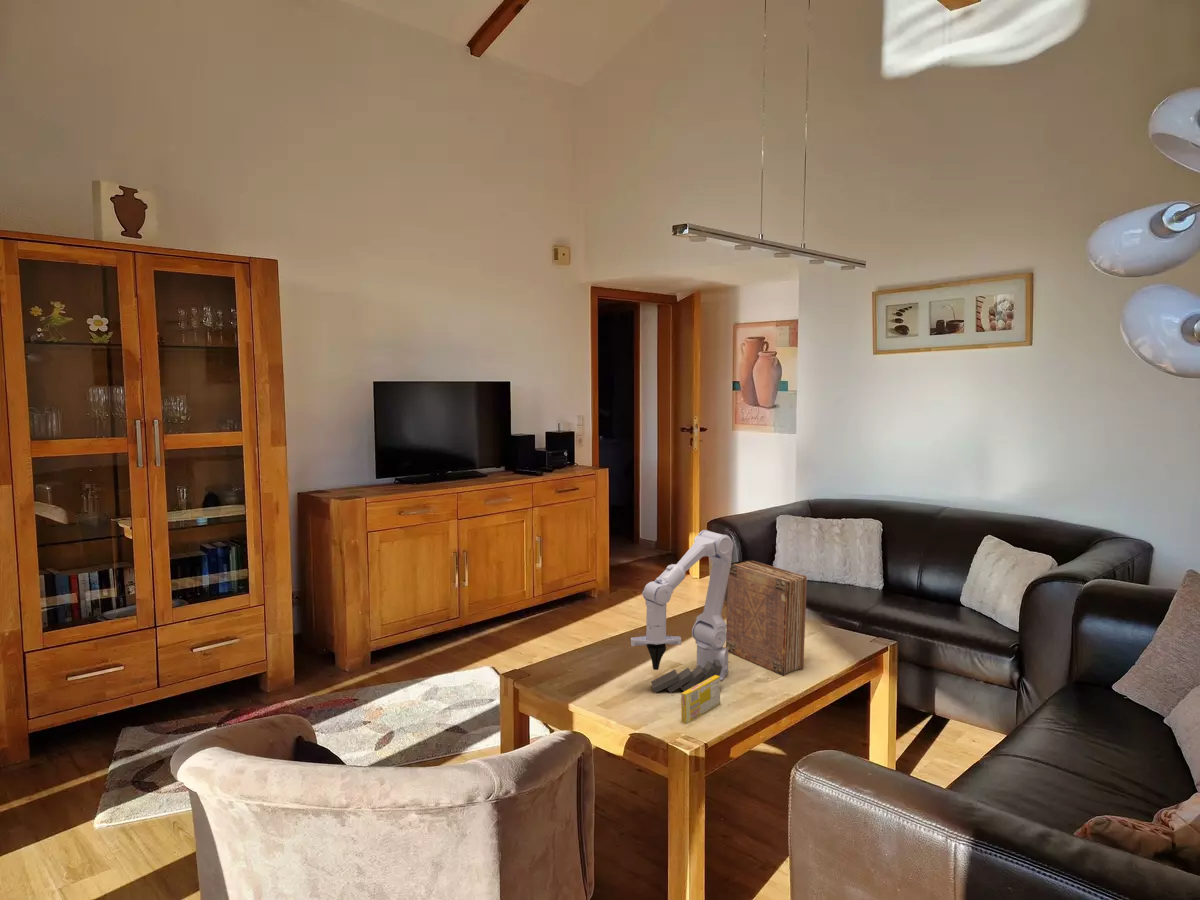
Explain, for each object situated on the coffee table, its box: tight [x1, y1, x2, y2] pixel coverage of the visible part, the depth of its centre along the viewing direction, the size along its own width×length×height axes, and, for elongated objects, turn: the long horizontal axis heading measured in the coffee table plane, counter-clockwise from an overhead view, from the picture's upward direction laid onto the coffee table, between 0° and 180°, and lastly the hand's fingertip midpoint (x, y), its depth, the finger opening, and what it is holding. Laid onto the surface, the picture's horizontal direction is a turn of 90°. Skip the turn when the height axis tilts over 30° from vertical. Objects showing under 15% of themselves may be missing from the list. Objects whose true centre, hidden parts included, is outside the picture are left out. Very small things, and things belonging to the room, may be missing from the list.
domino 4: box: [694, 661, 715, 686], centre depth 230 cm, size 2×5×8 cm
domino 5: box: [712, 659, 722, 676], centre depth 230 cm, size 2×5×8 cm, turn 3°
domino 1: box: [650, 669, 680, 694], centre depth 230 cm, size 2×5×8 cm
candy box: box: [680, 675, 721, 724], centre depth 215 cm, size 16×2×8 cm, turn 138°
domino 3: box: [680, 665, 706, 692], centre depth 230 cm, size 2×5×8 cm
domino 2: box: [666, 667, 694, 694], centre depth 230 cm, size 2×5×8 cm
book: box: [725, 559, 808, 677], centre depth 251 cm, size 25×9×30 cm, turn 35°
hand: (655, 668), depth 229 cm, fingers closed
